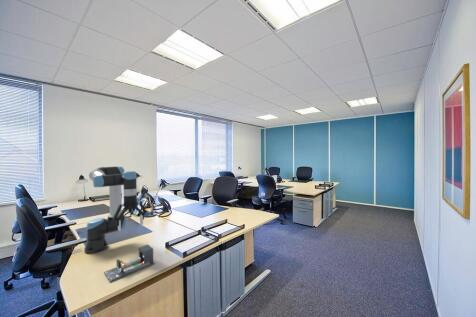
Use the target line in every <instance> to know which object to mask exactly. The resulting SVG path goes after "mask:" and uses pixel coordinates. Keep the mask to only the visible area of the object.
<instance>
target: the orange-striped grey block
mask: <svg viewBox="0 0 476 317" xmlns="http://www.w3.org/2000/svg"><path fill="white" fill-rule="evenodd" d="M115 262H116V267H118V269H119V270H120V271H123V269H124V268H126V267H129V266H132V265H134V264H137V263H139V262H141V259H140V258H139V257H136V258H134V259H131V260H128V261H126V262H124V261H123V260H120V259H116V261H115Z"/></svg>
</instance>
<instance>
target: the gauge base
mask: <svg viewBox="0 0 476 317" xmlns="http://www.w3.org/2000/svg"><path fill="white" fill-rule="evenodd" d="M138 258H140V259H141V262H139V263H137V264H134V265H132V266H129V267H126V268H124V269H123V271H120V270H119V269H118V267H117V266H116V267H114V268H111V269H108V270H106V271H103V274H104V276H105V277H106V278H107V280H108V282H109V283H112V282H114V281H117V280H121V279H123V278H124V277H127V276H130V275H132V274H134V273H137V272H139V271H141V270H144V269H146V268H149V267H151V266H154V265H155V264H156V263H155V261H154V248H153V247H152V246H151V245H149V244H145V245H142V246H139V247H138Z"/></svg>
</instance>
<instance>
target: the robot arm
mask: <svg viewBox="0 0 476 317" xmlns="http://www.w3.org/2000/svg"><path fill="white" fill-rule="evenodd" d="M88 176H89V179H90V181H92V185H93V187H94V188H104V187H105V188H106V187H109V189H108V190H109V191H108V192H109V193H108V194H109V214H108V215H107V218H105V217H104V216H103V217H97V218H93V219H91V220H89V221H88V222H87V224H86V243H85V246H84V253H85V254H95V253H100V252H102V251H105V250H106V249H107V248H108V247H109V243H108V241H107V238H106V235H107V234H111V233H115V232H121V231H123V230H125V228H126V226H127V216H126V215H125V213H126V212H127V211H131V210H134V209H135V210H136V211H137V212H138V213H140V215H139V225H141V226H144V220H145V215H146V214H148V211H147V209H146V208H145V206H144V205H143V201H142V200H138V195H137V190H138V189H137V188H138V187H137V179H138V178H137V172H136V171H133V170H131V171H130V170H129V171H125V169H124V167H123V166H100V167H97V168H96V167H95V168H94V169H92V170H91V171H90V172H89V175H88ZM122 186H123V197H122ZM122 198H123V202H122ZM137 205H138V206H139V207H140V208H139V207H138V206H137Z"/></svg>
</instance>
